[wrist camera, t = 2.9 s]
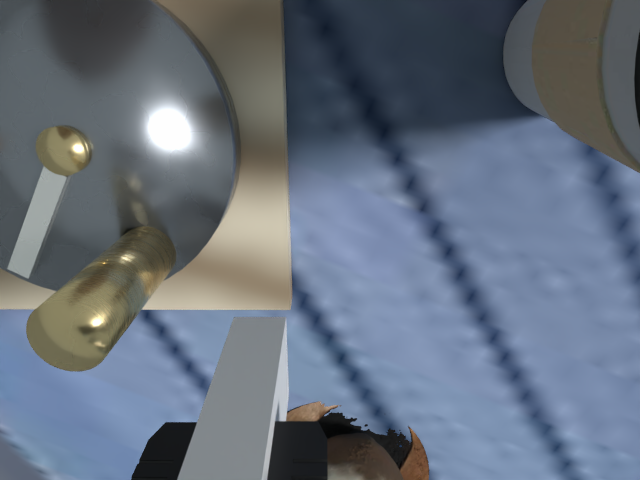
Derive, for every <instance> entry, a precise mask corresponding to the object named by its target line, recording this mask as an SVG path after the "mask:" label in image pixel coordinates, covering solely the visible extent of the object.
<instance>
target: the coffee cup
mask: <svg viewBox="0 0 640 480" xmlns="http://www.w3.org/2000/svg"><path fill="white" fill-rule="evenodd" d="M503 64H504V69H505V75H506V78H507V80H508V83H509V86H510V88H511V89H512V91H513V93H514V94H515V96H516V97H517V98H518V99H519V100H520V102H521V103H522V104H523V105H525V106H526V107H528V108H529V109H531V110H533V111H534V112H536V113H538V114H540V115H542V116H544V117H545V118H547V119H549V120H551V121H553V122H555V123H556V124H557V125H558V126H559V127H560V128H561V129H562V130H563V131H565V132H566V133H568V134H570V135H571V136H573V137H574V138H576V139H578V140H580V141H582V142H583V143H585V144H587V145H589V146H591V147H593V148H595V149H596V150H598V151H600V152H602V153H604V154H606V155H607V156H609V157H611V158H613V159H615V160H617V161H619V162H620V163H622V164H624V165H626V166H628V167H630V168H631V169H633V170H635V171H637V172H639V173H640V0H527V1H526V3H525V4H524V5H523V6H522V7H521V8H520V9H519V10H518V11H517V13H516V15H515V16H514V18H513V19H512V21H511V22H510V25H509V28H508V30H507V33H506V36H505V41H504V47H503Z"/></svg>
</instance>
